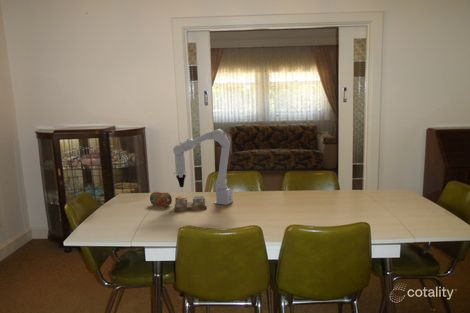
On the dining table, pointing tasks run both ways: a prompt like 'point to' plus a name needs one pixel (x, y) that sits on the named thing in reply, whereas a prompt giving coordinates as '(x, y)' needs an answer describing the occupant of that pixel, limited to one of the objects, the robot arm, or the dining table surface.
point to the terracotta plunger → (181, 198)
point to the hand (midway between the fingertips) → (181, 186)
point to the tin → (160, 199)
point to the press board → (190, 204)
